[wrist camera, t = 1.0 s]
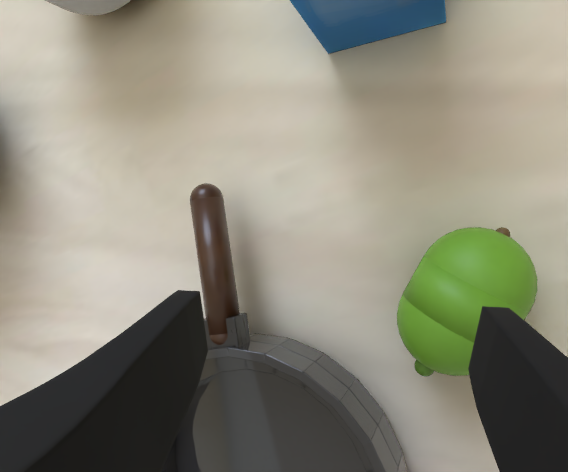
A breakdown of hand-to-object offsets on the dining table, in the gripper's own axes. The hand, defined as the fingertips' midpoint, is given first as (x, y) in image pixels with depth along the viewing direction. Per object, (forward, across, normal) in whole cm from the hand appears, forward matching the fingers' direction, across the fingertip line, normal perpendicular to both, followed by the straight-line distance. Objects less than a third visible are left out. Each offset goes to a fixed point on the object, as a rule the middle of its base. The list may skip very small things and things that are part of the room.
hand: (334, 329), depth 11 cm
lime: (+10, -6, +5) cm, 13 cm away
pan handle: (+11, +6, +5) cm, 14 cm away
